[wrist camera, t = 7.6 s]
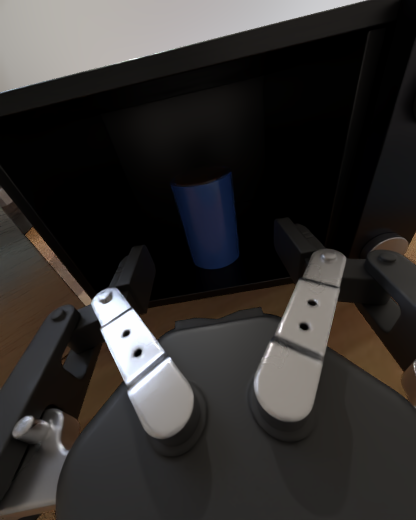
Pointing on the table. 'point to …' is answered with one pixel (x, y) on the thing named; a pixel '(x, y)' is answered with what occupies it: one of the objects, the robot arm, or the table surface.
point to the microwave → (225, 148)
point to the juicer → (14, 212)
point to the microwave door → (25, 294)
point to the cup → (208, 215)
